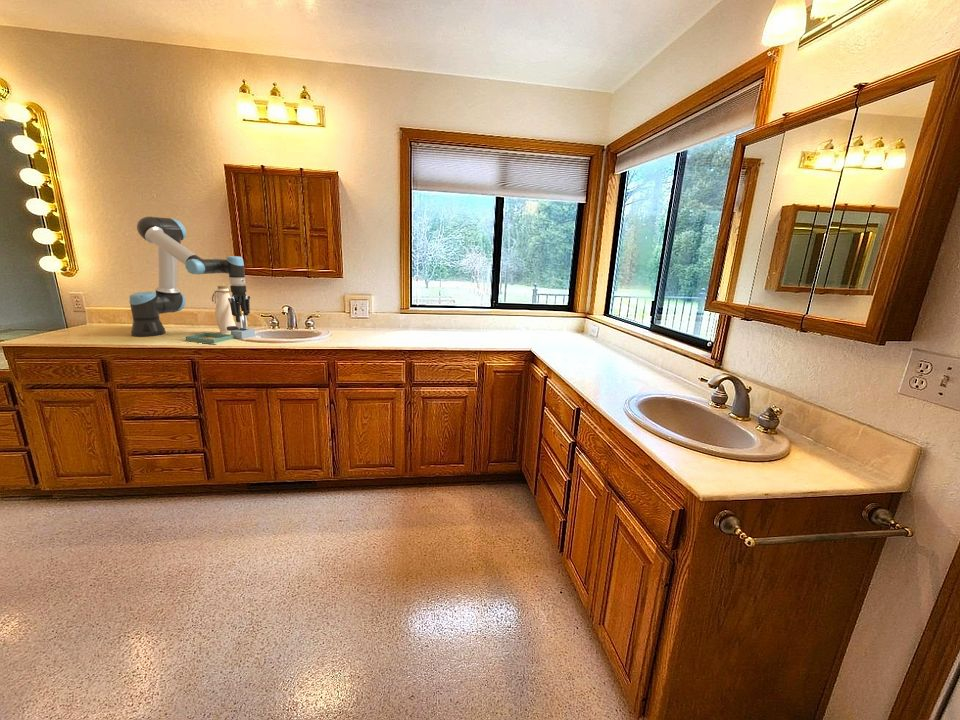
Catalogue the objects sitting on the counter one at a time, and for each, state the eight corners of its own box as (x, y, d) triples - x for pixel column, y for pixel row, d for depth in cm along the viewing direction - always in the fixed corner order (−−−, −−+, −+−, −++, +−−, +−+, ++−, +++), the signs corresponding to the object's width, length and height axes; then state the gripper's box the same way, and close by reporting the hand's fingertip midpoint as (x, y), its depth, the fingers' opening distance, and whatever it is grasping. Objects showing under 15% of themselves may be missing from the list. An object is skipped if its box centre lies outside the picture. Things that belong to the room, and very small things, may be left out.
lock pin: (239, 336, 230) (236, 311, 226) (243, 336, 232) (240, 310, 229) (243, 337, 229) (241, 311, 225) (247, 336, 232) (245, 311, 228)
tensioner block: (221, 338, 228) (220, 327, 227) (235, 335, 238) (234, 325, 236) (243, 340, 225) (241, 329, 224) (256, 337, 235) (255, 327, 233)
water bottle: (217, 336, 234) (211, 287, 226) (215, 333, 240) (209, 285, 233) (238, 334, 240) (232, 286, 233) (235, 331, 247) (230, 285, 239)
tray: (185, 342, 217) (185, 336, 216) (206, 337, 229) (205, 332, 228) (214, 345, 213) (213, 339, 212) (233, 340, 226) (233, 335, 225)
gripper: (232, 286, 215) (237, 330, 221) (254, 284, 230) (258, 325, 236) (220, 285, 216) (225, 329, 223) (243, 283, 232) (247, 324, 238)
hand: (242, 327), depth 229 cm, fingers closed on lock pin, 3 cm apart
